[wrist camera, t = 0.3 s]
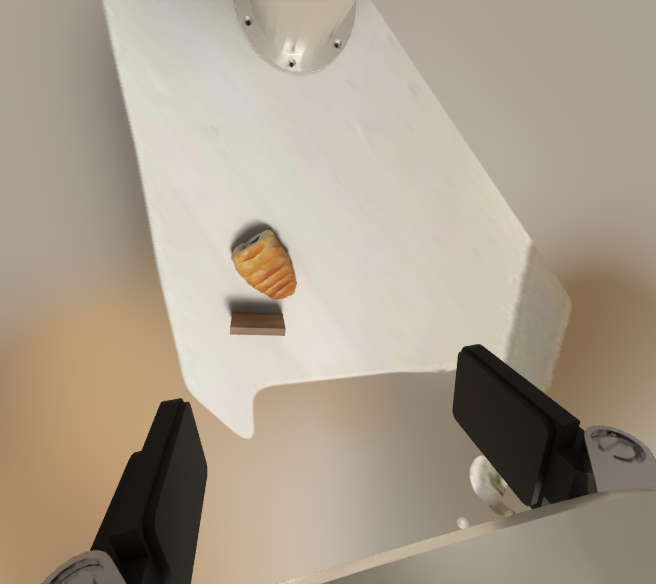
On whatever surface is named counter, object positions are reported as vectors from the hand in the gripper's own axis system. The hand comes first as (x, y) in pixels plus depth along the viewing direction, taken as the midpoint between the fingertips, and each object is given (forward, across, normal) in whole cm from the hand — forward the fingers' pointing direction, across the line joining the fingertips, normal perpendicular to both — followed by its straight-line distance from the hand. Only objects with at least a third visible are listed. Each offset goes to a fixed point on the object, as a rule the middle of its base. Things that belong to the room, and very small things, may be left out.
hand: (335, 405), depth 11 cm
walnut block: (+34, +4, +12) cm, 36 cm away
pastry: (+35, +2, +4) cm, 35 cm away
